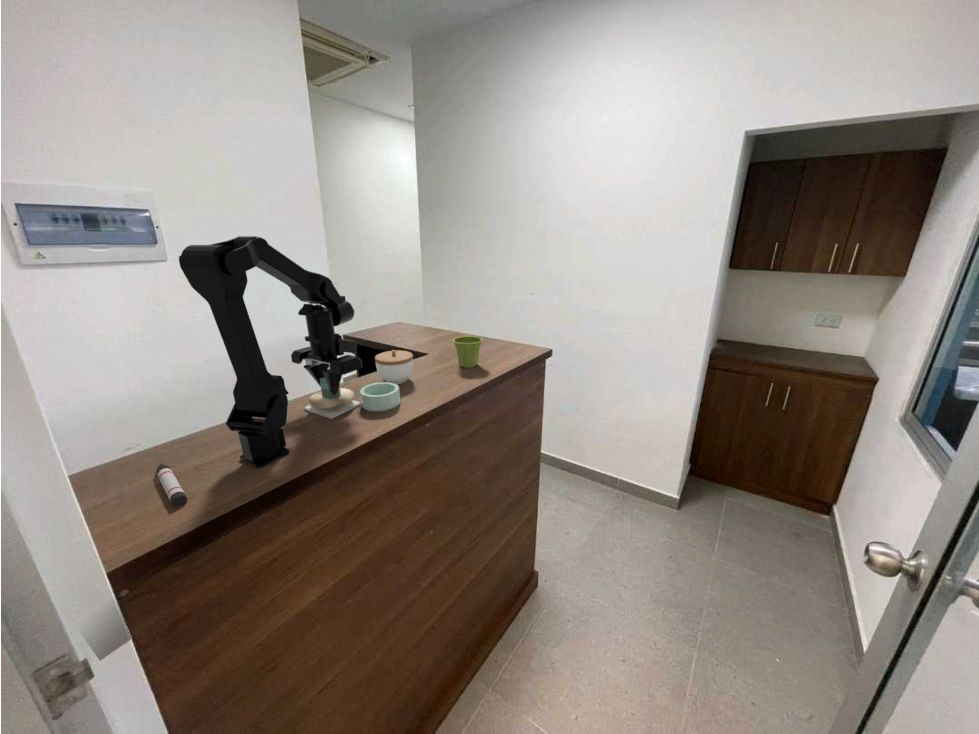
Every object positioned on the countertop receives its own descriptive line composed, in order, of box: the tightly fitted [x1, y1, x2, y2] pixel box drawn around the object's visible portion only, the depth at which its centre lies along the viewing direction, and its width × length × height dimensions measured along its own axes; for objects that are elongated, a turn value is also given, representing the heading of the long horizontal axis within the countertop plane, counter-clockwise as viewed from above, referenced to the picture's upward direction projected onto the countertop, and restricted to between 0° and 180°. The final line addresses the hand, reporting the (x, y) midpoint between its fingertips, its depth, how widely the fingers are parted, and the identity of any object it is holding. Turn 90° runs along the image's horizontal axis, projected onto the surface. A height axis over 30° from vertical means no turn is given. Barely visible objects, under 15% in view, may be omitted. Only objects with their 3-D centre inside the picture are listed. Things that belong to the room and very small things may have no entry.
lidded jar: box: [374, 349, 414, 385], centre depth 111 cm, size 11×11×9 cm
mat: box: [303, 399, 362, 420], centre depth 96 cm, size 9×10×1 cm
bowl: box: [359, 381, 401, 413], centre depth 97 cm, size 9×9×4 cm
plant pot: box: [452, 335, 483, 369], centre depth 124 cm, size 9×9×9 cm
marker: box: [155, 463, 188, 508], centre depth 66 cm, size 15×2×2 cm, turn 48°
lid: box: [308, 377, 355, 409], centre depth 94 cm, size 10×10×6 cm
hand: (330, 392), depth 94 cm, fingers closed on lid, 3 cm apart
